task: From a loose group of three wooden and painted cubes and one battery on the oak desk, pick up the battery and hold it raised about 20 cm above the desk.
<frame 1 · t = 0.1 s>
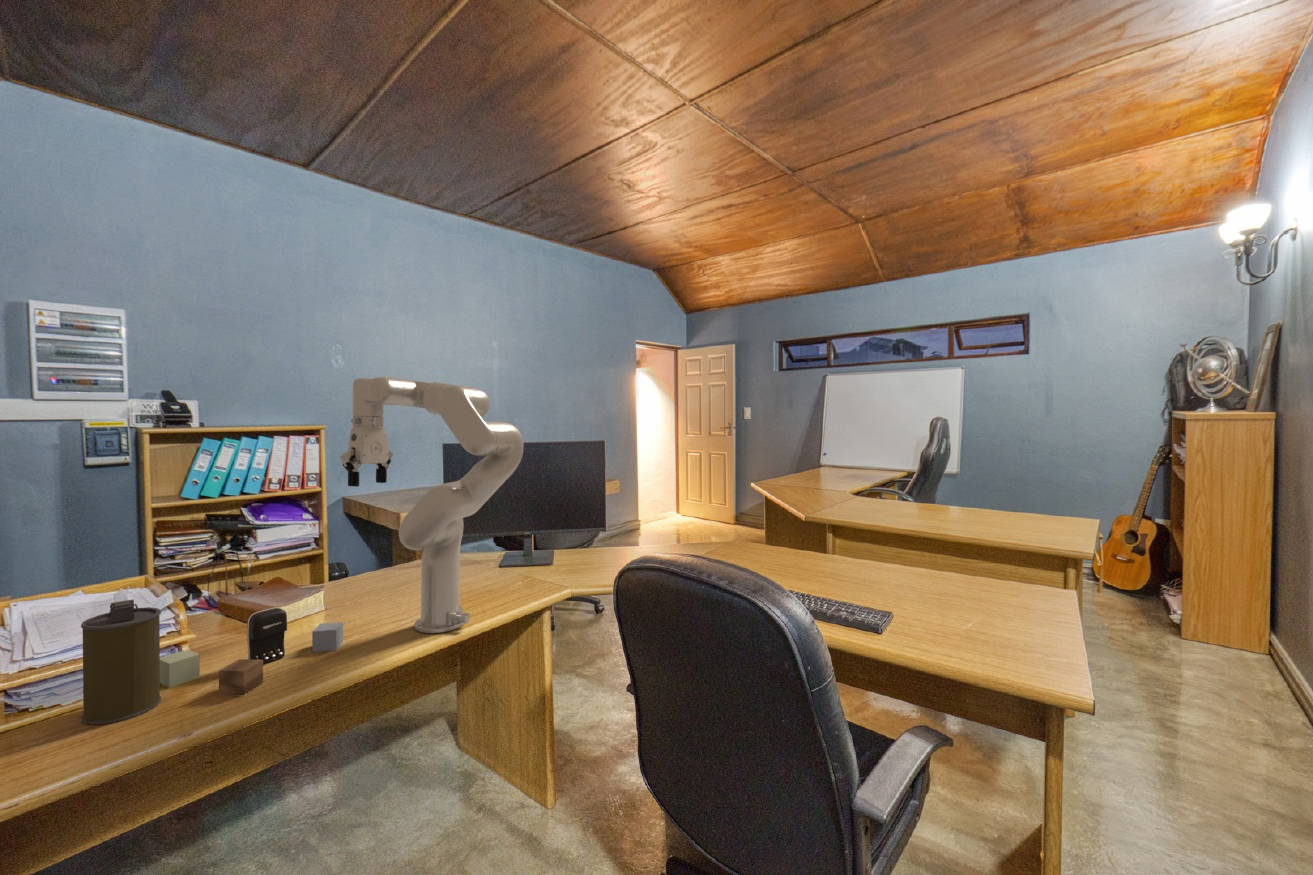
hand: (367, 484, 147), 37 cm above the table, tool pointing down, fingers open, 9 cm apart
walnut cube: (241, 689, 106), on the table
slate cube: (328, 647, 127), on the table
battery: (268, 662, 119), on the table
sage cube: (178, 680, 110), on the table
canister: (122, 710, 98), on the table
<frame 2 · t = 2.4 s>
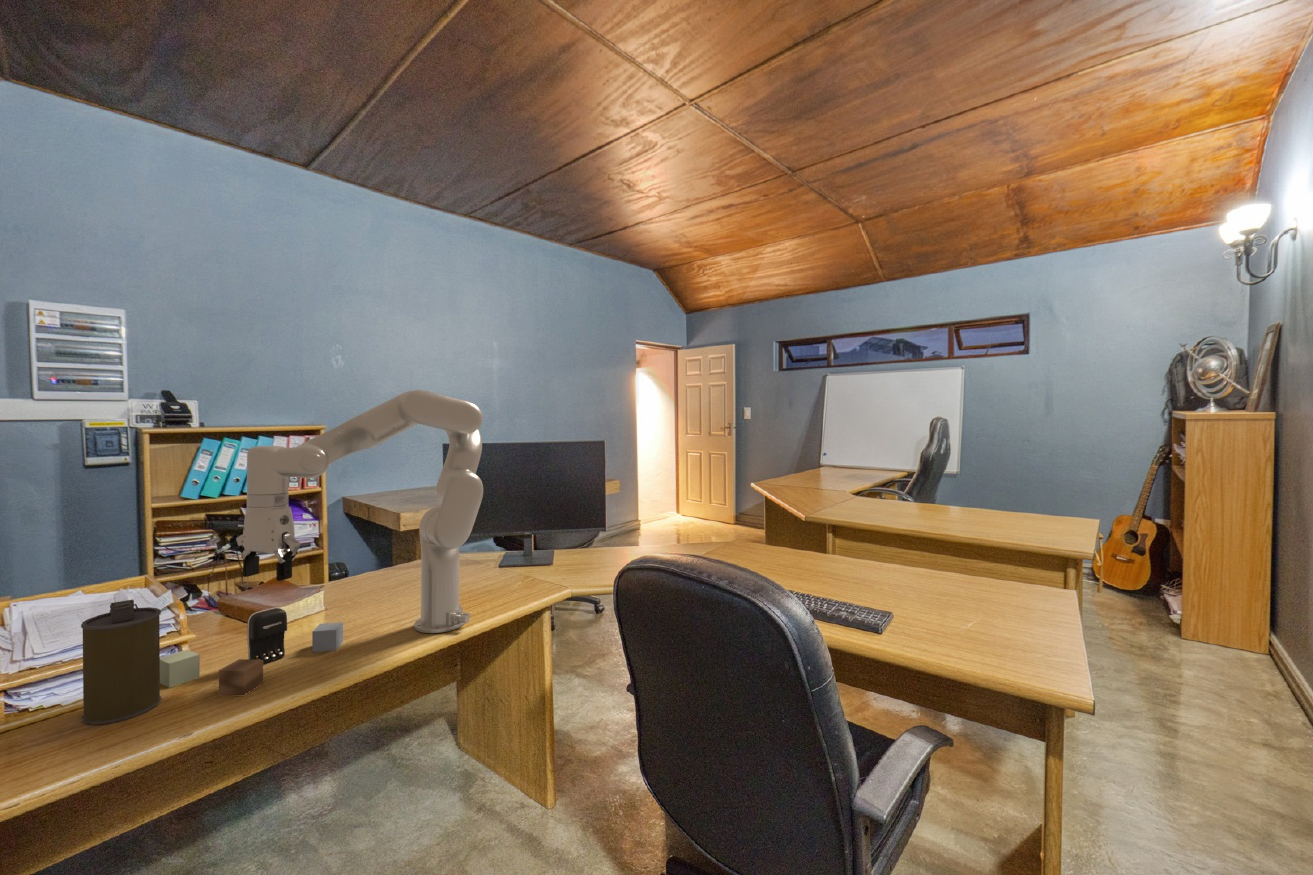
hand: (267, 577, 118), 19 cm above the table, tool pointing down, fingers open, 9 cm apart
nothing on the table moved.
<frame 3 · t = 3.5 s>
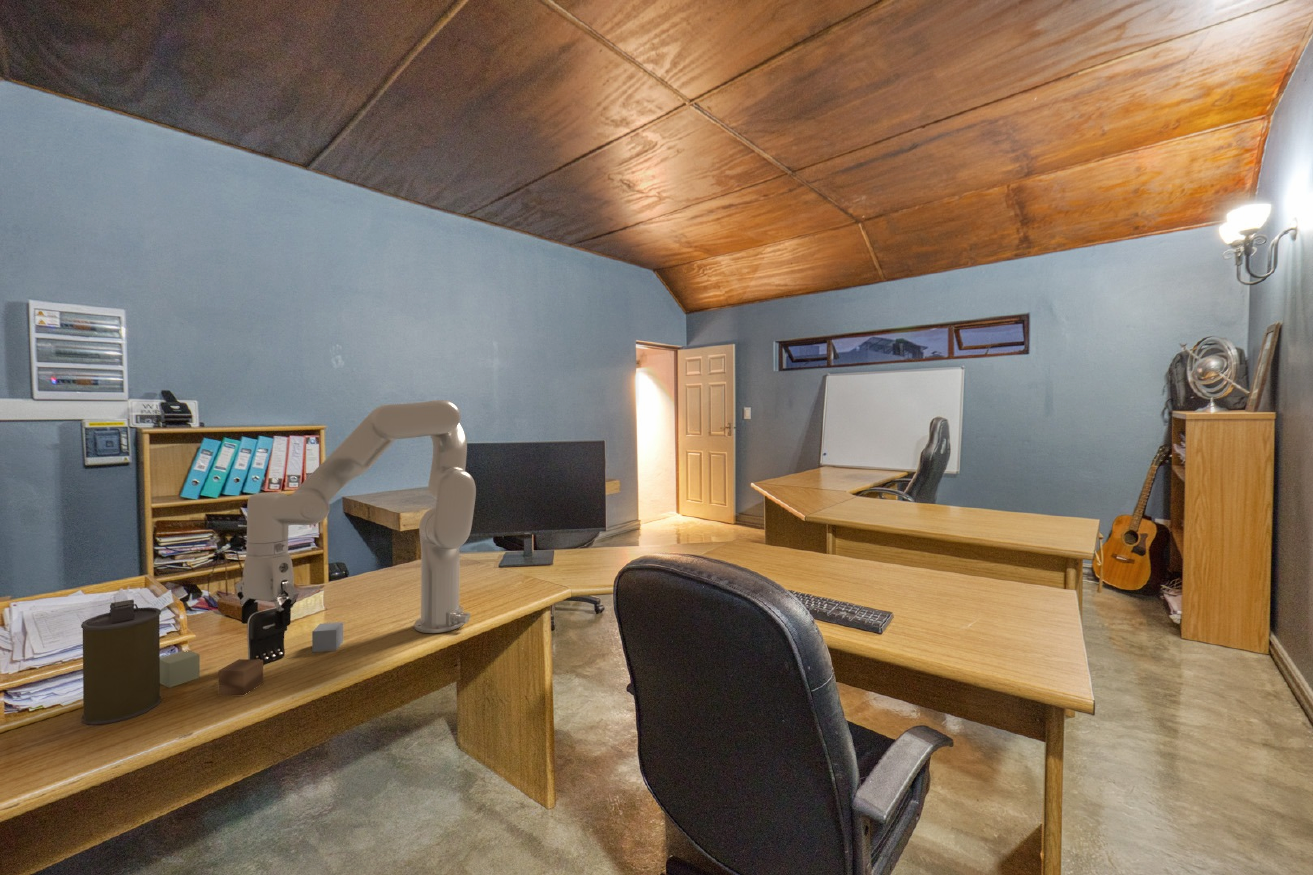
hand: (265, 624, 118), 8 cm above the table, tool pointing down, fingers open, 9 cm apart
nothing on the table moved.
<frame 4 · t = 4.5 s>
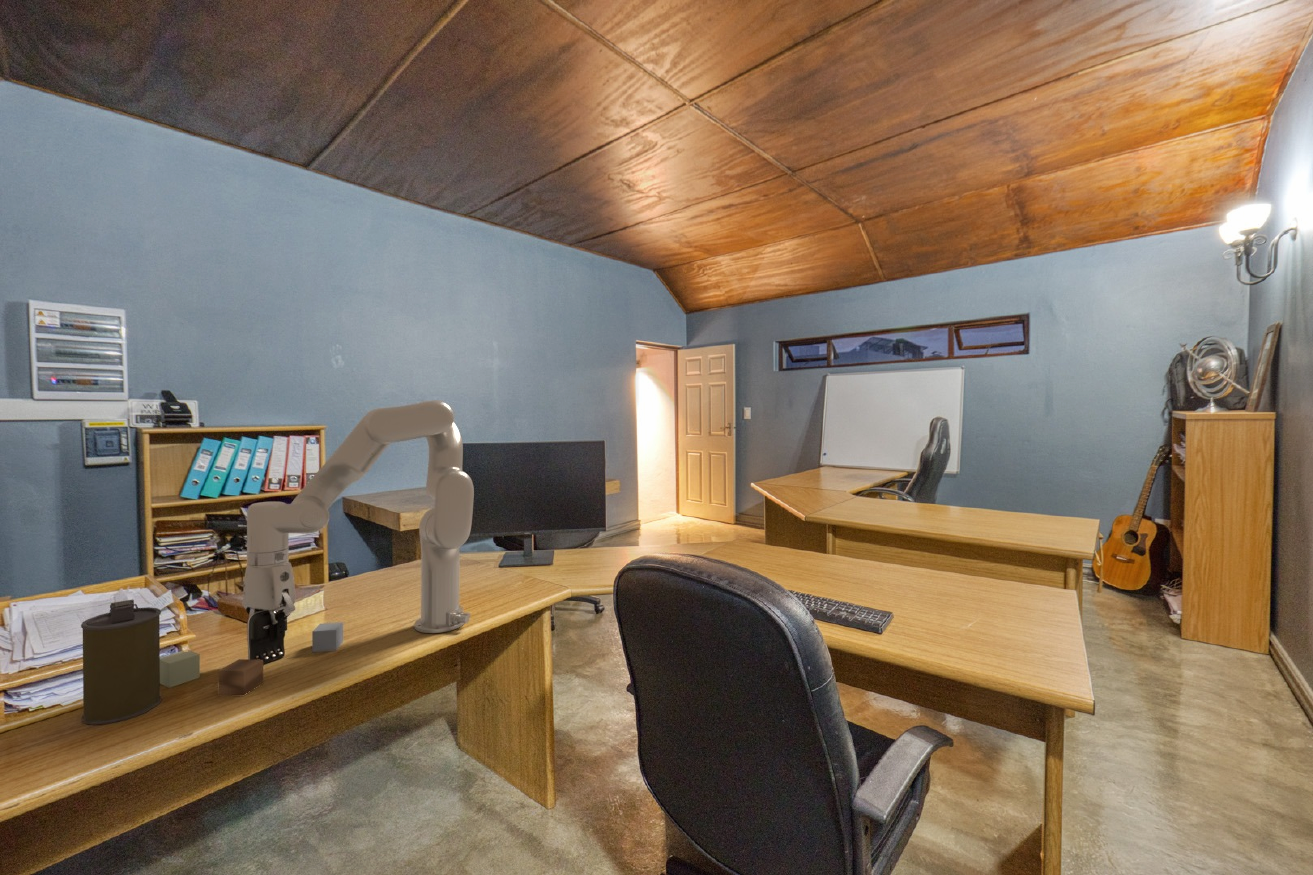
hand: (268, 637, 119), 5 cm above the table, tool pointing down, fingers closed on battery, 4 cm apart
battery: (268, 662, 119), on the table, touching gripper
everything else where it was.
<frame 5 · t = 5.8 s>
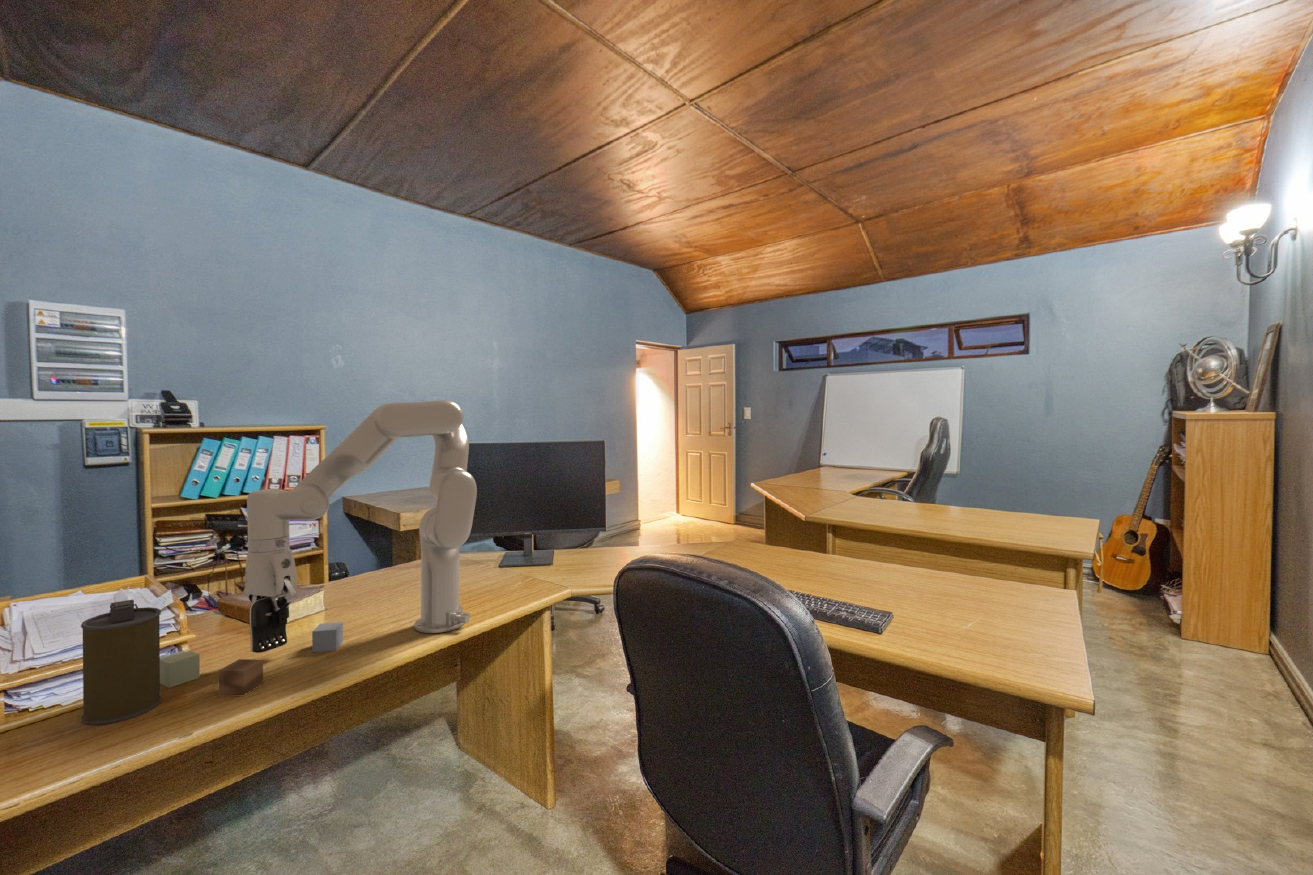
hand: (270, 624, 119), 8 cm above the table, tool pointing down, fingers closed on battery, 4 cm apart
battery: (271, 649, 119), point 3 cm above the table, touching gripper
everything else where it was.
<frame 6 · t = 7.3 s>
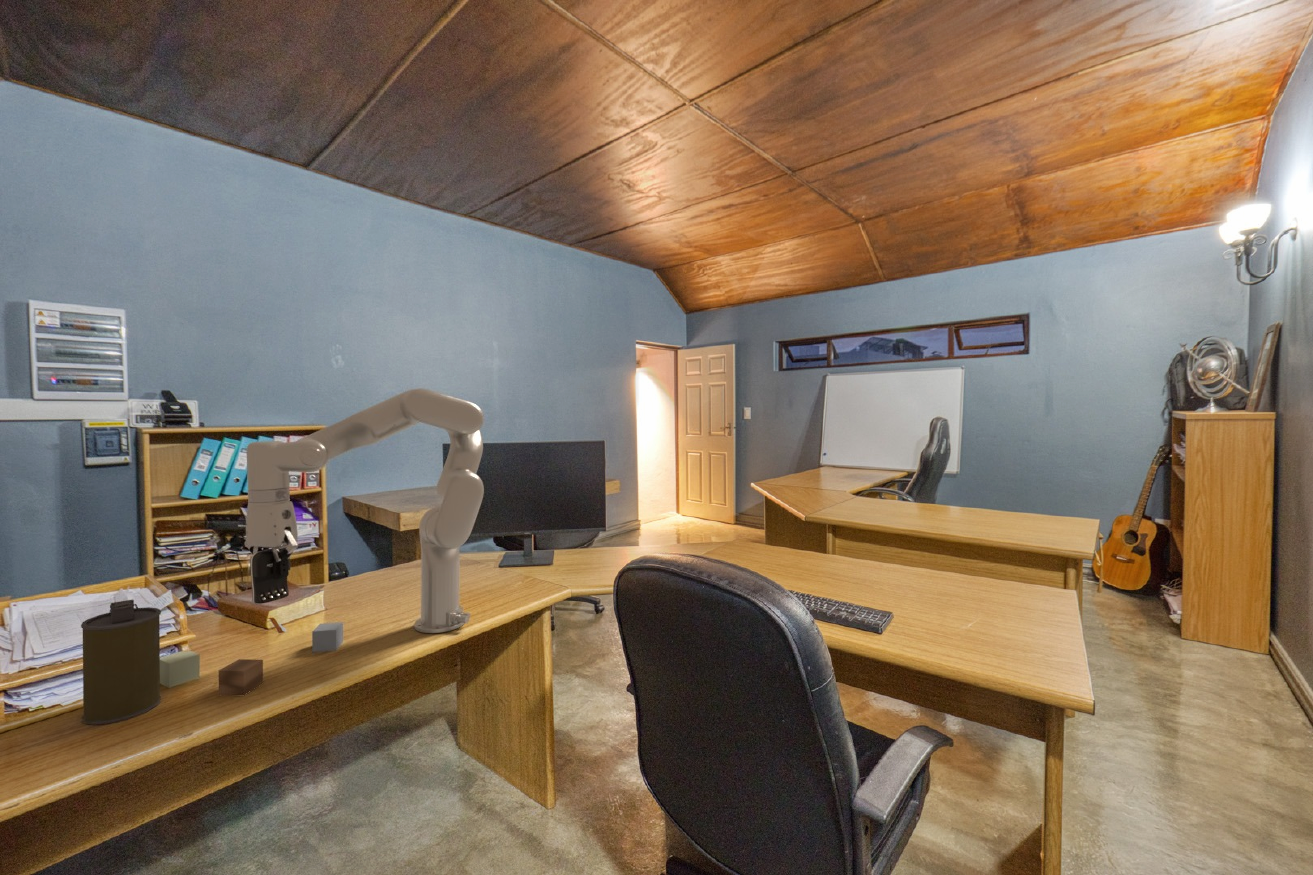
hand: (272, 576, 119), 19 cm above the table, tool pointing down, fingers closed on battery, 4 cm apart
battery: (272, 601, 119), point 13 cm above the table, touching gripper
everything else where it was.
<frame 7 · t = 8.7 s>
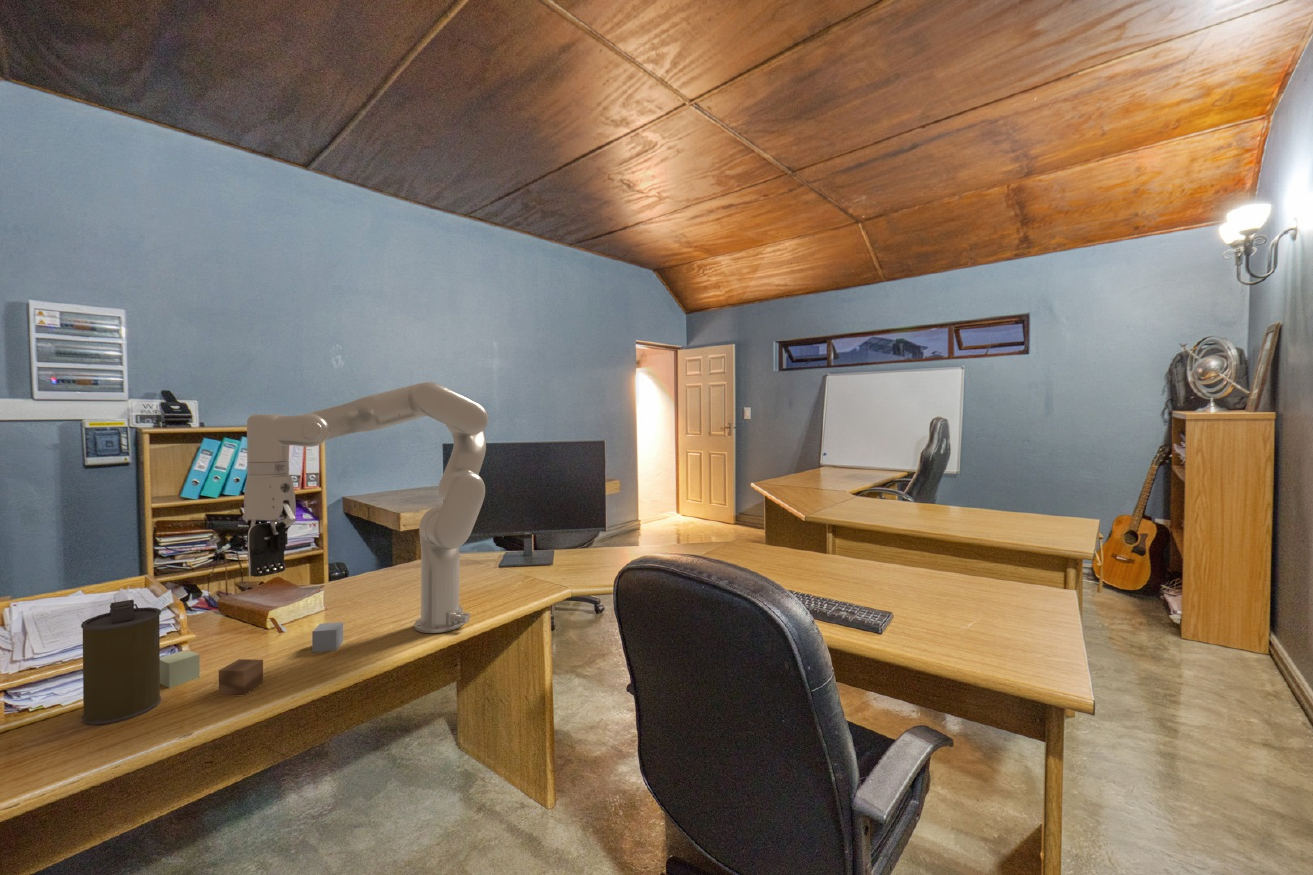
hand: (269, 549, 118), 25 cm above the table, tool pointing down, fingers closed on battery, 4 cm apart
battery: (269, 575, 118), point 19 cm above the table, touching gripper
everything else where it was.
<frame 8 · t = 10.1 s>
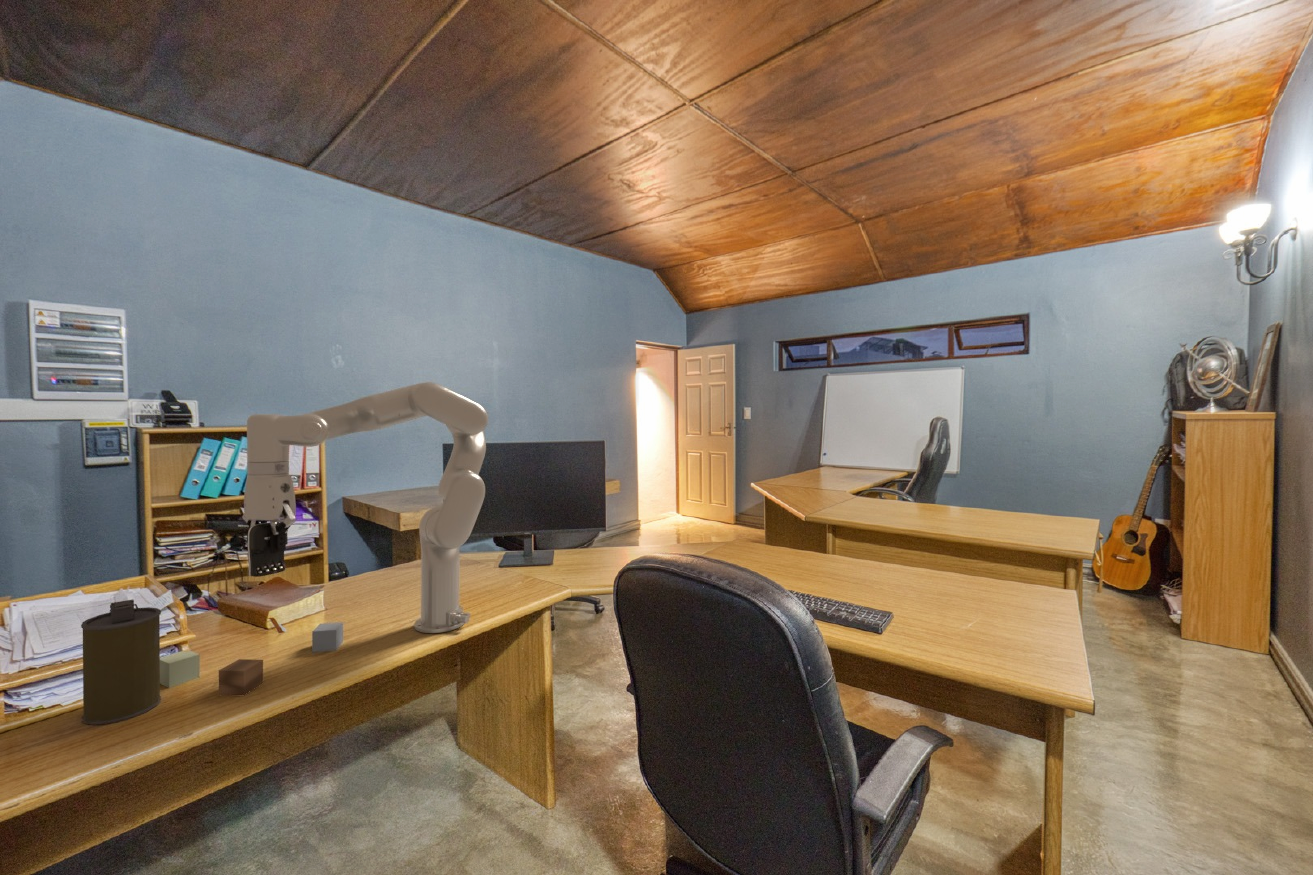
hand: (269, 549, 118), 25 cm above the table, tool pointing down, fingers closed on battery, 4 cm apart
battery: (269, 575, 118), point 19 cm above the table, touching gripper
everything else where it was.
at the end: the gripper is holding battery; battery point 19.5 cm above the table; slate cube moved 0.1 cm from its start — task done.
